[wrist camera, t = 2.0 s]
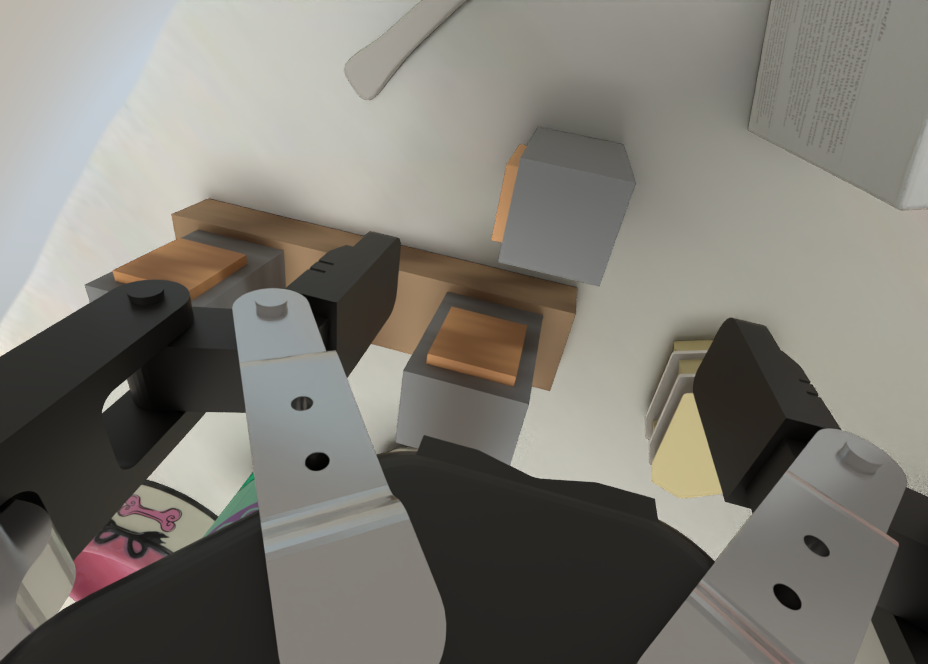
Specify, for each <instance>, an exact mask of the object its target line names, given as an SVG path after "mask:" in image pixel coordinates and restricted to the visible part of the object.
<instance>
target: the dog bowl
mask: <svg viewBox="0 0 928 664" xmlns="http://www.w3.org/2000/svg"><path fill="white" fill-rule="evenodd" d="M217 518H218V516H217V515H215V514H214V513H213V512H211V511H210V510H209V509H207V508H206V507H204V506H203V505H201V504H200V503H198V502H197V501H195V500H193V499H192V498H190V497H188V496H187V495H184V494H182V493H180V492H178V491H176V490H174V489H172V488H169V487H167V486H164V485H162V484H159V483H156V482H152V481H149V480H145V481H144V482H143V484H142V485H141V486H140V487H139V488H138V489H137V490H136V491H135V493H134V494H133V495H132V496H131V497H130V498H129V499H128V500H127V501H126V503H125V504H124V505H123V506H122V507H121V508H120V509H119V510H118V512H117V513H116V514H115V515H114V516H113V517H112V518H111V519H110V521H109V522H108V523H107V524H106V525H105V526H104V527H103V528H102V529H101V531H100V532H99V533H98V534H97V535H96V536H95V537H94V538H93V540H92V541H91V542H90V543H89V544H88V545H87V546H86V547H85V548H84V550H83V551H82V552H81V553H80V554H79V555H78V556H77V557H76V559H75V560H74V561H73V562H74V564H75V569H76V577H75V582H74V585H73V588H72V590H71V592H70V594H69V596H70V597H71V598H72V599H73V600H74V601H76V602H77V601H79V600H81V599H82V598H84V597H86V596H88V595H90V594H92V593H94V592H96V591H98V590H100V589H102V588H104V587H106V586H108V585H110V584H112V583H114V582H116V581H118V580H120V579H122V578H124V577H126V576H128V575H130V574H132V573H134V572H136V571H138V570H140V569H142V568H144V567H145V566H147V565H149V564H151V563H153V562H155V561H157V560H159V559H161V558H163V557H165V556H167V555H169V554H171V553H173V552H175V551H177V550H179V549H181V548H183V547H185V546H187V545H189V544H191V543H193V542H195V541H197V540H199V539H201V538H202V537H203V536H204V535H205V534H206V532H207V531H208V530H209V528H210V527H211V526H212V525H213V523H214V522H215V521H216V519H217Z"/></svg>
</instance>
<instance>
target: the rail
mask: <svg viewBox="0 0 928 664" xmlns="http://www.w3.org/2000/svg"><path fill="white" fill-rule="evenodd" d="M171 215H172V220H173V226H174V231H175V237H176V240H174V241H172V242H170V243H168V244H166V245H164V246H162V247H159V248H157V249H155V250H153V251H151V252H149V253H147V254H145V255H143V256H141V257H139V258H137V259H135V260H133V261H131V262H129V263H127V264H125V265H123V266H121V267H119V268H117V269H114V270H112V272H110V273H108V274H106V275H104V276H102V277H100V278H98V279H96V280H94V281H92V282H90V283H88V284H86V285H85V288H86V291H87V294H88V297H89V301H90V303H91V302H92V301H94V300H96V299H97V298H99V297H101V296H102V295H104V294H106V293H107V292H109V291H111V290H112V289H114V288H116V287H119V286H121V285H124V284H127V283H131V282H135V281H141V280H168V281H173V282H177V283H179V284H182V285H183V286H185V287H186V288H187V289H188V290H189V292H190V297H191V303H192V307H209V308H226V309H232V307H233V304H234V302H235V301H236V300H237V299H238V298H239V297H241V296H242V295H244V294H246V293H249V292H252V291H255V290H260V289H267V288H278V289H285V288H286V287H287V286H288V285H290V284H291V283H292V282H293V281H294V280H296V279H297V278H298V277H299V276H300V275H301V274H303V273H304V272H305V271H306V270H307V269H310V267H311V266H312V265H313V264H314V263H316V262H318V261H319V259H320V258H321V257H323V256H324V255H325V254H326V253H327V252H329V251H330V250H333V249H336V248H339V247H342V246H345V245H349V246H354V245H355V244H356V243H358V242H359V241H360V240H361V239H362V238H363V237H364V236H361V235H357V234H353V233H348V232H344V231H340V230H336V229H332V228H328V227H324V226H319V225H315V224H311V223H307V222H303V221H299V220H295V219H290V218H286V217H282V216H278V215H274V214H270V213H266V212H261V211H257V210H253V209H249V208H245V207H241V206H237V205H232V204H228V203H224V202H220V201H216V200H212V199H206V200H204V201H201V202H199V203H197V204H194V205H192V206H190V207H187V208H185V209H183V210H180V211H178V212H175V213H173V214H171ZM576 298H577V288H576V287H572V286H568V285H564V284H559V283H555V282H551V281H547V280H543V279H539V278H535V277H531V276H526V275H522V274H518V273H514V272H510V271H506V270H502V269H497V268H493V267H489V266H485V265H481V264H477V263H473V262H468V261H464V260H460V259H456V258H452V257H448V256H444V255H439V254H435V253H431V252H427V251H423V250H419V249H415V248H410V247H406V246H402V245H401V253H400V264H399V275H398V286H397V296H396V301H395V305H394V308H393V311H392V313H391V315H390V317H389V318H388V320H387V321H386V323H385V324H384V326H383V327H382V329H381V330H380V331H379V333H378V334H377V336H376V337H375V339H374V340H373V342H372V343H371V344H374V345H378V346H381V347H385V348H389V349H393V350H397V351H400V352H404V353H408V354H412V356H411V358H410V359H409V361H408V363H407V365H406V367H405V368H404V370H403V378H402V387H401V396H400V405H399V414H398V423H397V432H396V441H395V442H396V443H399V444H403V445H406V446H410V447H414V448H417V449H418V448H419V446H420V443H421V441H422V438H423V436H424V435H426V436H430V437H433V438H437V439H440V440H444V441H448V442H451V443H455V444H459V445H462V446H466V447H469V448H473V449H477V450H480V451H482V452H484V453H486V454H488V455H490V456H492V457H494V458H496V459H498V460H499V461H501V462H503V463H505V464H507V465H509V466H510V464H511V460H512V457H513V454H514V451H515V447H516V444H517V441H518V438H519V434H520V431H521V428H522V425H523V422H524V418H525V415H526V412H527V409H528V405H529V400H530V394H531V388H532V386H533V387H536V388H540V389H544V390H548V391H550V390H551V387H552V384H553V381H554V378H555V375H556V372H557V369H558V366H559V363H560V360H561V357H562V354H563V351H564V348H565V345H566V342H567V339H568V336H569V333H570V330H571V327H572V324H573V321H574V318H575V315H576Z"/></svg>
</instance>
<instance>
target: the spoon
mask: <svg viewBox="0 0 928 664" xmlns="http://www.w3.org/2000/svg"><path fill="white" fill-rule="evenodd" d="M465 1H466V0H422V1H421V2H419V3H418V4H417V5H416V6H415V7H414V8H412V9H411V10H410V11H409V12H408V13H407V14H406V15H405V16H403V17H402V18H401V19H400V20H399V21H398V22H397V23H396V24H395V25H394V26H392V27H391V28H390V29H389V30H388V31H387V32H386V33H384V34H383V35H382V36H381V37H380V38H378V39H377V40H376V41H374V42H373V43H372V44H370V45H369V46H367V47H366V48H364V49H363V50H361V51H360V52H358V53H357V54H355V55H354V56H353V57H351V58H350V59H349V60H348V62H347V63H346V64H345V69H344V70H345V75H346V77H347V79H348V81H349V82H350V84H351V85H352V87H353V88H354V90H355V91H356V93H357V94H358V95H359V96H360V97H361V98H363V99H364V100H372V99H373V98H374V97H376V96H377V95H378V94H379V92H380V91H381V90H382V89H383V87H384V86H385V85H386V83H387V82H388V81H389V79H390V78H391V77H392V75H393V74H394V73H395V72H396V70H397V69H398V68H399V66H400V65H401V64H402V63H403V62H404V60H405V59H406V58H407V57H408V56H409V55H410V53H411V52H412V51H413V50H414V49H415V48H416V47H417V46H418V45H419V44H420V43H421V42H422V41H423V40H424V39H425V38H427V37H428V36H429V35H430V34H431V33H432V32H433V31H434V30H435V29H436V28H437V27H438V26H439V25H440V24H441V23H442V22H443V21H444V20H446V19H447V18H448V17H449V16H450V15H451V14H452V13H453V12H454V11H455V10H456V9H457V8H458V7H460V6H461V5H462V4H463V3H464V2H465Z"/></svg>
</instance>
